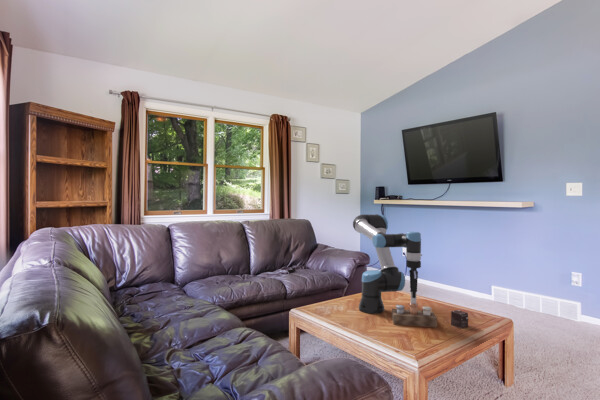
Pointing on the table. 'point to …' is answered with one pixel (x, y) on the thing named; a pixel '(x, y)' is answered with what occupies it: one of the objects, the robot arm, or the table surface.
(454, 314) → the box
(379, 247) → the robot arm
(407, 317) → the socket block
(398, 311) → the grey plug
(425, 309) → the cream plug
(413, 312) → the terracotta plug
